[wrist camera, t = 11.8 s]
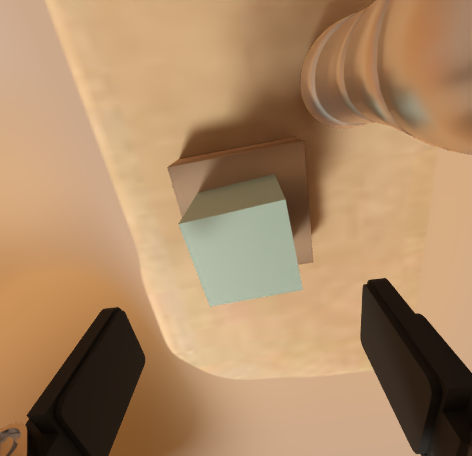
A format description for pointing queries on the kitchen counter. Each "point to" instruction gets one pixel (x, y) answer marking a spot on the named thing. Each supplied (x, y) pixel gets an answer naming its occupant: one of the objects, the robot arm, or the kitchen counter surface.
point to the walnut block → (247, 168)
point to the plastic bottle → (396, 71)
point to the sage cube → (242, 241)
